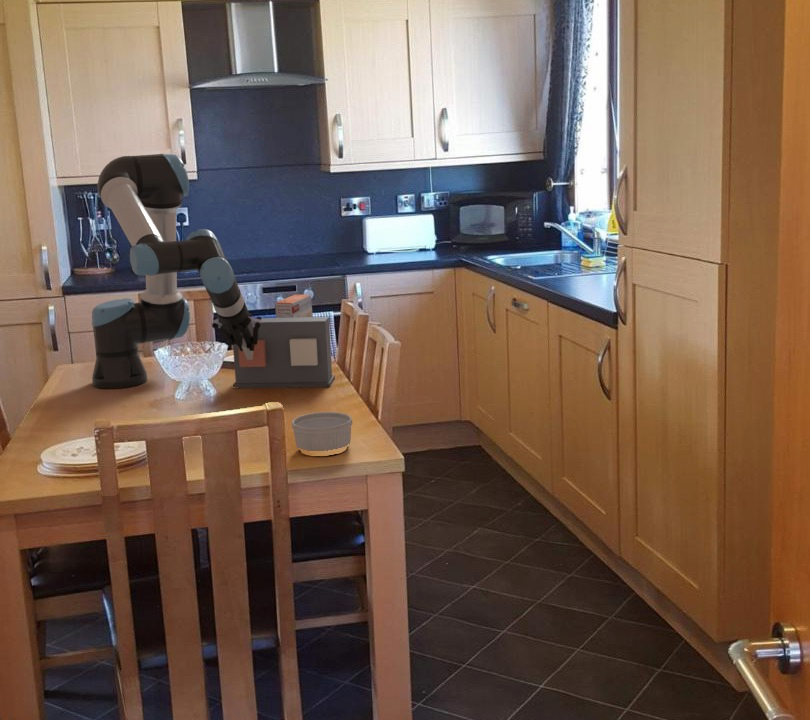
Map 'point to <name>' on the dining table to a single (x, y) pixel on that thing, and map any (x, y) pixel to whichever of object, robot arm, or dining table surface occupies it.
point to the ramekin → (322, 431)
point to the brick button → (254, 356)
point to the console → (287, 355)
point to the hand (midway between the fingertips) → (250, 355)
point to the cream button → (303, 352)
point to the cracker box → (294, 307)
